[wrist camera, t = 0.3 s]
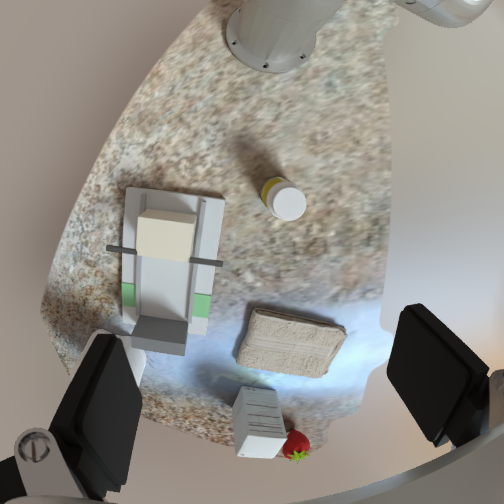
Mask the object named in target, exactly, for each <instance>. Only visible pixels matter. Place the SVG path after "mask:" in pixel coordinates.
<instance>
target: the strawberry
mask: <svg viewBox="0 0 504 504" xmlns="http://www.w3.org/2000/svg"><path fill="white" fill-rule="evenodd" d="M309 448H310V442H309V440H308V439H307V437H306V436H305V435H304V434H302V433H301V432H299V431H297V430H295V429H292V430H291V431H290V433H289V434H288V436H287V440H286V441H285V443H284V444H283V454H284V456H285V457H286V458H288V459H291V460H295V459H296V461H298V460H299V459H304V458H303V457H305V456H309V455H305V454H306V453H307V452H308V450H309ZM291 460H290V461H291ZM298 462H299V461H298Z"/></svg>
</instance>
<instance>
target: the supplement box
mask: <svg viewBox="0 0 504 504" xmlns="http://www.w3.org/2000/svg"><path fill="white" fill-rule="evenodd" d="M232 414H233V427H234V439H235V451H236V456H241V457H253V458H274V457H275V455H276V454H277V452H278V451H279V450H280V448H281V447H282V446H283V444H284V443H285V441H286V440H287V435H286V431H285V426H284V422H283V418H282V413H281V409H280V405H279V401H278V396H277V392H276V391H274V390H267V389H260V388H254V387H247V386H241V389H240V391H239V393H238V395H237V398H236V400H235V402H234V405H233V407H232Z"/></svg>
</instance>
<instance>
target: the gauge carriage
mask: <svg viewBox="0 0 504 504" xmlns="http://www.w3.org/2000/svg"><path fill="white" fill-rule="evenodd" d="M196 220H197V215H193V214H186V213H179V212H171V211H163V210H156V209H146V210H145V211H144V212H143V213H142V214H141V215H140V216H138V225H137V241H136V249H133V248H126V247H119V246H113V245H107V246H106V251H112V252H119V253H125V254H132V255H139V256H146V257H152V258H159V259H166V260H173V261H181V262H188V263H195V264H202V265H210V266H217V267H222V265H223V261H219V260H212V259H204V258H197V257H191V254H192V250H193V243H194V235H195V227H196Z"/></svg>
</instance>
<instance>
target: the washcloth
mask: <svg viewBox="0 0 504 504" xmlns="http://www.w3.org/2000/svg"><path fill="white" fill-rule="evenodd" d="M346 337H347V334H346V329H345V328H343V327H340V326H338V325H336V324H333V323H329V322H325V321H321V320H315V319H310V318H306V317H301V316H296V315H291V314H287V313H281V312H277V311H273V310H268V309H264V308H255V309H254V310H253V312H252V314H251V317H250V320H249V325H248V331H247V333H246V335H245V338H244V339H243V341H242V343H241V346H240V348H239V351H238V354H237V358H236V363H237V364H238V365H241V366H245V367H250V368H255V369H261V370H266V371H272V372H277V373H284V374H290V375H291V374H292V375H299V376H306V377H311V378H321V377H322V376H323V375H325V374H326V373H327V372H328V368H329V366H330V364H331V363H332V361H333V360H334V358H335V356H336V354H337V353H338V351H339V350H340V348H341V346H342V344H343V342H344V341H345V339H346Z"/></svg>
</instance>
